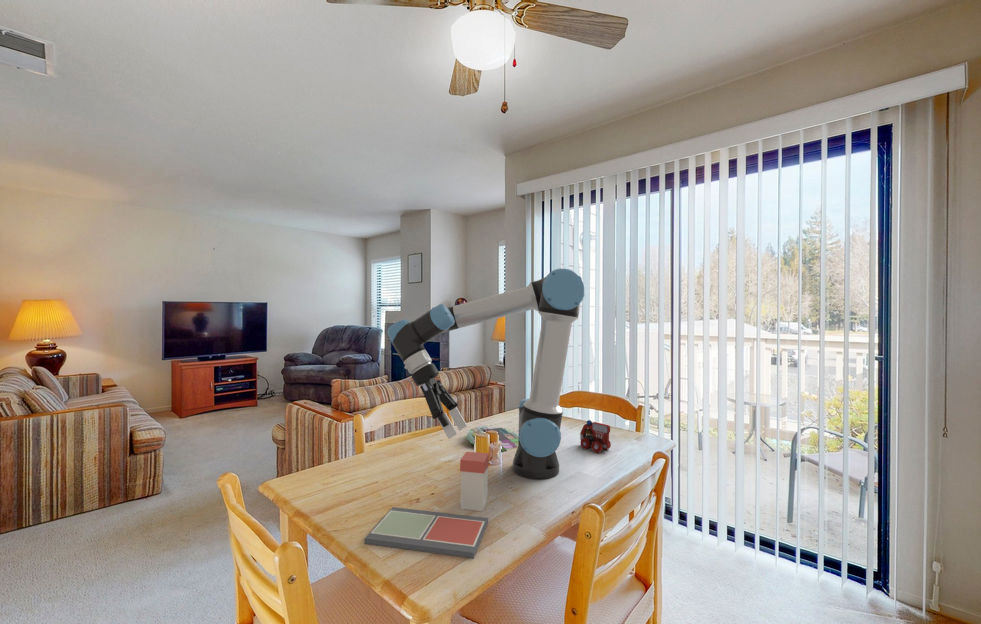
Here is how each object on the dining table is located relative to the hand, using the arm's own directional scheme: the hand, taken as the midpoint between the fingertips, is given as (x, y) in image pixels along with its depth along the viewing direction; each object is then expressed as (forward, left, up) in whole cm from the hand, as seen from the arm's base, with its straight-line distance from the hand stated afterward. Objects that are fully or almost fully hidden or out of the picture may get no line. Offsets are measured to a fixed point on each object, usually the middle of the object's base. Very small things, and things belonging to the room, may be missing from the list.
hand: (458, 432), depth 122 cm
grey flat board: (0, +23, -17) cm, 29 cm away
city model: (-3, -45, -18) cm, 48 cm away
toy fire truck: (-41, -47, -17) cm, 64 cm away
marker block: (-7, +7, -17) cm, 20 cm away
